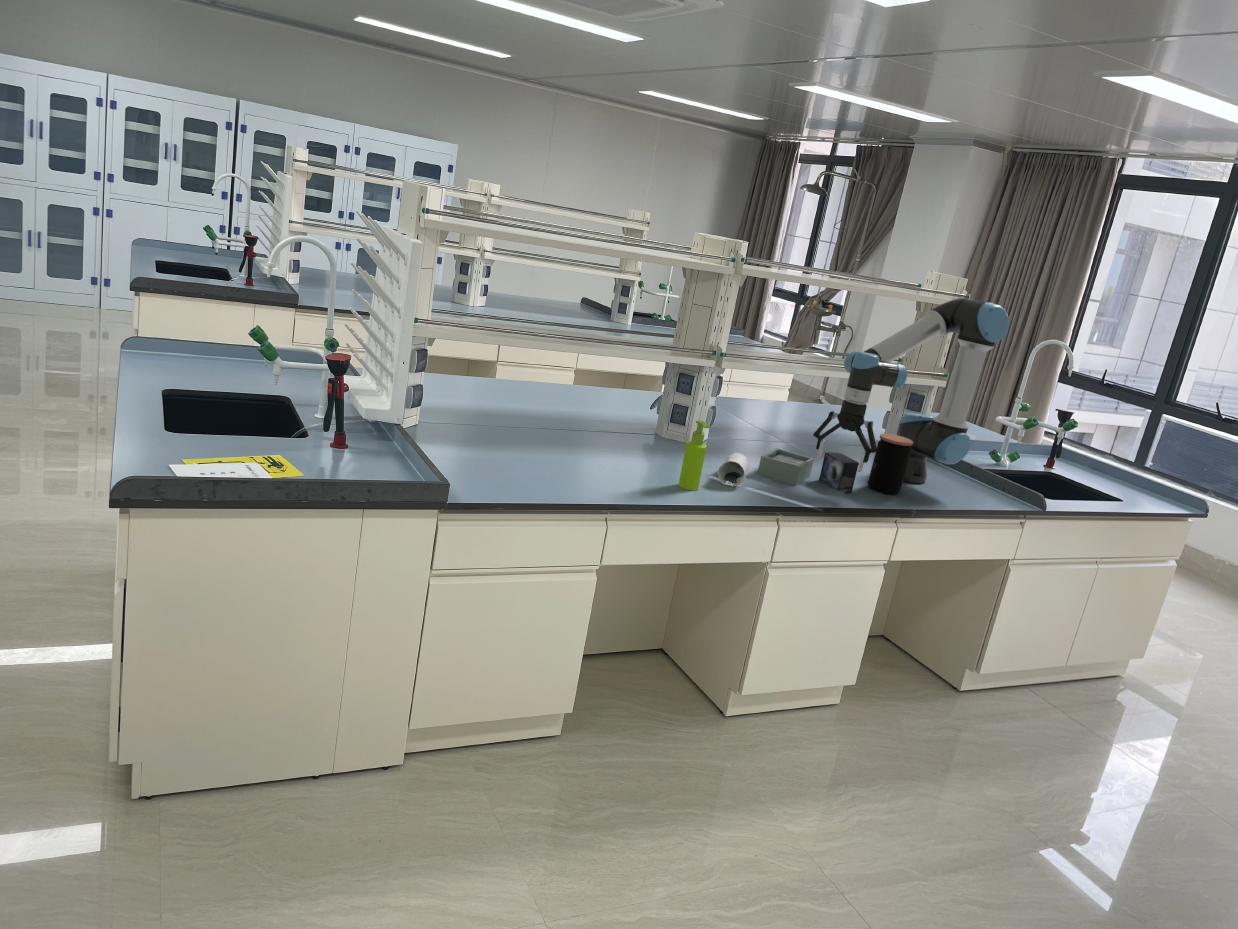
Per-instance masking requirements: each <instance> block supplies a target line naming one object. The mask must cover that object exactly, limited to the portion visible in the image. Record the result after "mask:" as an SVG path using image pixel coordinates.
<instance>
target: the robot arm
mask: <svg viewBox="0 0 1238 929" xmlns="http://www.w3.org/2000/svg"><path fill="white" fill-rule="evenodd" d="M1009 319H1010V318H1009V315H1008V313H1007V311H1006V309H1005V308H1004V307H1002V306H1001V305H998V304H996V303H994V302H993V303H992V302H988V301H983V300H982V301H981V300H978V299H972V298H968V297H960V298H955V299H951V300H949V301H946V302H944V303H941V304H939V305H937V306H935V307H933V308H931V309H930V310H928V311H927V312H926V313H925V314H924V317H922V318H920V319H918V320H917V321H914V322H913V323H911V324H910V325H908V326H906V327H904V328H902V329H901V330H899V331H897V332H895V333H894V334H892V335H891V336H889V337H887V338H885V339H884V340H881V341H880V342H878V343H877V344H874V345H873V346H871V347H869V348H868V349H866V350H864V351H851V352H849V353H848V354H847V355H846V357H845V359H844V361H843V367H844V369H845V371H846V372H847V373H849V376H848V380H847V383H846V384H847V385H846V388H845V391H844V392H845V393H844V396H843V397H844V399H843V400H842V404H841V407H840V411H839V413H838V412H835V411H834V410H831V411H829V413H828V415H827V418H826V419H825V420H824V421H823V422H822V424H820V426H819V427H818V428H817V429H816V430H815V431H814V433H813V437H815V438H816V439H817V442H816V445H815V446H816V448H815V449H816V450H818V451H817V455H816V461H818V462H819V461H820V460H821V459H822V455H823V451H824V447H825V443H826V439H825V438H827V437H828V436H829V435H831V434H832V433H834V432H835V431H836V430H838V429H839V428H841V429H842V430H847V431H850V432H855V434H856V435H857V437H858V439H859V441H860V443H861V445H862V447H863V449H864V451H862V454H861V458H860V461H859V465H858V469H857V473H860V474H861V472H862V471H863V468H864V464H866V463H868V462H869V458H870V454H874V453H875V452H876V451H877V442H876V439H875V434H874V429H873V427H874V421H872V420H870V421H868V420H865V415H866V411H867V409H868V408H867V406H868V405H867V404H868V403H869V399H870V397H871V392H872V388H873V386H881V387H889V388H900V387H902V386H903V385H904V384H905V383H906V382H907V378H908V370H907V368H906V367H905V365H903V364H902V363H897V362H894V361H895V360H897V359H899V358H900V357H902V356H904V355H905V354H907V353H909V352H911V351H913V350H914V349H916V348H918V347H919V346H921V345H923V344H925V343H927V342H928V341H930V340H932V339H933V338H936V337H942V336H945V335H947V334H950V333H958V335H957V341H958V343H959V348H958V351H957V356H956V358H955V362H954V364H953V368H952V370H951V371H952V372H951V374H950V376H949V377H950V378H949V382H948V384H947V388H946V391H945V393H944V398H943V401H942V404H941V407H940V410H939V412H938V413H939V414H937V415H936V416H934V415H927V414H923V413H912V412H906V413H904V414H902V416H901V419H900V422H899V425H898V428H897V429H898V430H897V433H896V435H898V436H901V437H905V438H908V439H910V440H912V441H913V445H911V453H910V457H909V461H908V465H907V468H906V472H905V476H904V479H903V482H906V483H911V484H925V483H926V481H927V479H928V478H927V477H928V473H927V472H928V470H927V457H929V458H930V459H933V460H935V461H937V462H939V463H943V464H945V465H955V464H957V463H959V462H960V461H963V460H964V458H965V457H966V456H967V455H968V453H969V452H970V449H971V444H972V441H971V438H970V436H969V435H968V434H967V433H968V431H969V430H968V429H969V425H968V424H967V422H966V420H967V417H968V414H969V410H970V408H971V404H972V401H973V398H974V394H975V392H976V389H977V385H978V381H979V379H980V375H981V372H982V370H983V366H984V364H985V360H986V358H987V353H988V352H989V351H990V350H992V349H994V348H995V344H996V343H997V342H1000V341H1001V340H1003V338H1004V337H1006V335H1007V333H1008V330H1009V326H1010V320H1009ZM836 418H837V420H838V423H837V424H835V425H834V426H832V427H831V428H829V429H828V430H826V431H825V432H823V431H824V430H825V428H826V427H827V426H828V425H829V423H830V422H832V420H835V419H836ZM863 425H864V428H866V430H867V435H868V436H867V437H868V440H869V443H868V441H867V439H866V437H865V435H864V433H863V430H862V428H861V427H862V426H863ZM822 432H823V434H821V433H822Z"/></svg>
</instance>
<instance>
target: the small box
mask: <svg viewBox="0 0 1238 929" xmlns="http://www.w3.org/2000/svg"><path fill="white" fill-rule="evenodd" d="M821 464H822V465H821V470H820V473H819V478H818V481H820V482H821V483H823V484H825V485H827V486H829V487H830V488H832V489H833V490H834V491H835V490H836V491H839V492H840V491H841V492H844V494H852V493H853V489H854V484H855V479H856V476H857V473H858V468H859V464H860V461H857V460H855V459H853V458H851V457H849V456H848V455H845V454H843V453H841V452H827V451H826V452H824V455H823V460H822V463H821Z"/></svg>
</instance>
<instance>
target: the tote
mask: <svg viewBox="0 0 1238 929" xmlns="http://www.w3.org/2000/svg"><path fill="white" fill-rule="evenodd" d="M779 454H783V455H787V456H790V457H794V458H797V459H801V460H805V462H803V463H802V464H800V465H794V464H791V463H787V462H784V461H780V460H776V459H773V457H775V456H777V455H779ZM814 462H815V458H814V457H810V456H806V455H802V454H799V453H795V452H792V451H788V450H785V449H782V448H777V447H776V448H774V449H772V450H770V451H768V452H766V453H765V454H761V456H760V460H759V464H758V470H757V474H756V475H757V476H760V477H763V478H766V479H771V480H775V481H778V482H781V483H785V484H788V485H792V486H795V487H797V486H798V485H799V484H801V483H803V482H804V481H806V480H807V479H809V478H810V476H811V473H812V469H813V465H814Z"/></svg>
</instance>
